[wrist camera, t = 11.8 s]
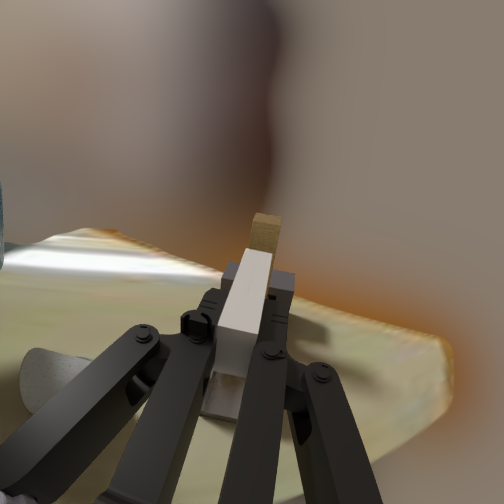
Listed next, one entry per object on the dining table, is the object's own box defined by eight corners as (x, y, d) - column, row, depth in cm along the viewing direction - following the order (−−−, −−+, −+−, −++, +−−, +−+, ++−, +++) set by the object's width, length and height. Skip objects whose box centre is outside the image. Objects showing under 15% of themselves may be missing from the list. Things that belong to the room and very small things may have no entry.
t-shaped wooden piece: (222, 367, 31) (236, 243, 24) (242, 301, 44) (257, 202, 37) (256, 374, 31) (282, 252, 24) (267, 306, 43) (287, 207, 36)
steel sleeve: (195, 413, 26) (194, 394, 24) (212, 363, 33) (214, 341, 31) (259, 427, 25) (266, 409, 24) (267, 374, 32) (273, 353, 31)
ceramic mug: (106, 441, 20) (82, 402, 17) (39, 427, 18) (8, 384, 15) (116, 368, 29) (104, 321, 26) (60, 361, 27) (42, 314, 24)
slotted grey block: (217, 318, 41) (221, 277, 38) (225, 299, 46) (229, 261, 43) (283, 331, 40) (294, 291, 37) (285, 311, 45) (294, 273, 42)
